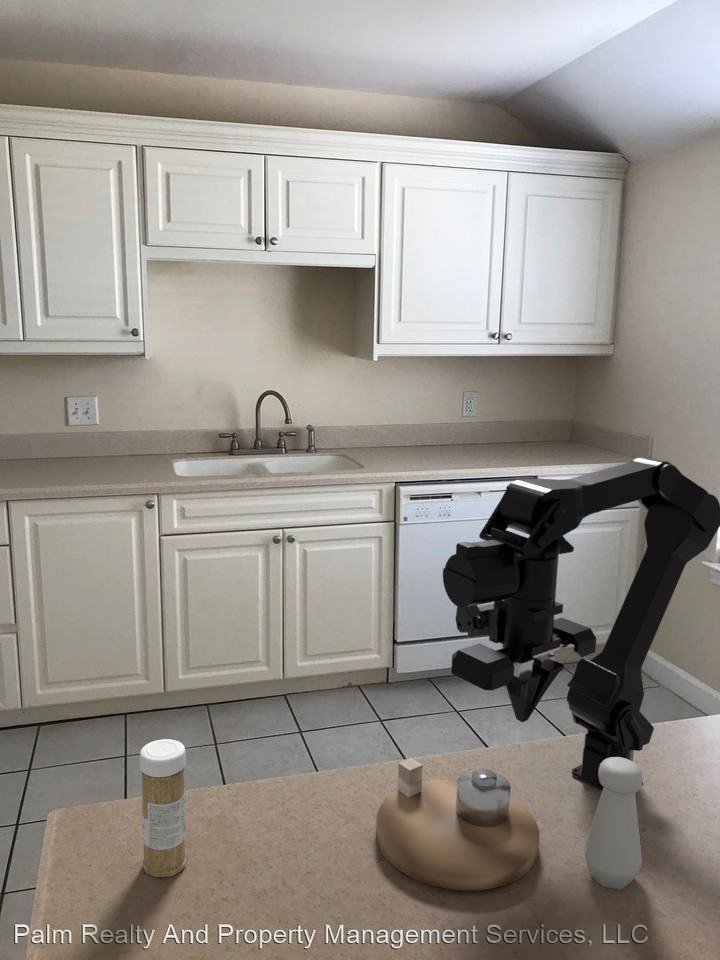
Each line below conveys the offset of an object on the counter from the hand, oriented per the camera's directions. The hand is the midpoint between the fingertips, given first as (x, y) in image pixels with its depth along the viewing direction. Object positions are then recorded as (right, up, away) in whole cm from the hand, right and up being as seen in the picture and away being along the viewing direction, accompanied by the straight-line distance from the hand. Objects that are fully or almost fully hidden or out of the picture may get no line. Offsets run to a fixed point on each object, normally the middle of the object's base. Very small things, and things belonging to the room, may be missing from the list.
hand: (521, 720), depth 97 cm
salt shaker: (+8, -14, -9) cm, 18 cm away
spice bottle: (-39, -13, -9) cm, 43 cm away
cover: (-5, -10, -2) cm, 11 cm away
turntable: (-8, -12, -4) cm, 15 cm away
